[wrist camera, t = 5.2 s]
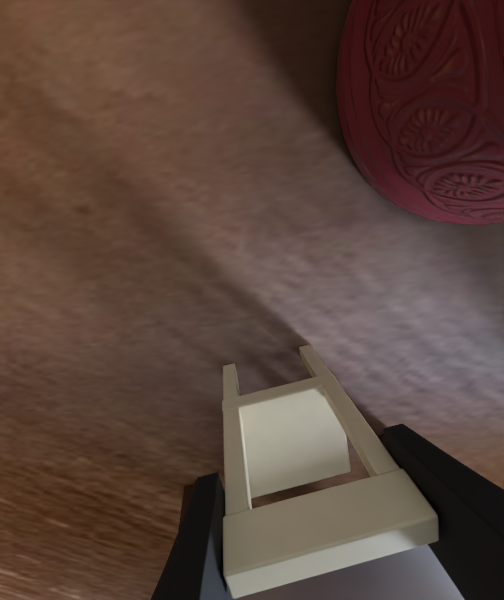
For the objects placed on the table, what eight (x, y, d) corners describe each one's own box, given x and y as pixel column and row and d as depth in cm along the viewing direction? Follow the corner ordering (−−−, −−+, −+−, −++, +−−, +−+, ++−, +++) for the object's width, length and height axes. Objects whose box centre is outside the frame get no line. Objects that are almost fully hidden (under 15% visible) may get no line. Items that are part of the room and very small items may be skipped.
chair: (220, 362, 16) (222, 576, 7) (310, 340, 16) (439, 515, 7) (241, 438, 18) (268, 701, 8) (323, 417, 18) (443, 648, 8)
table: (404, 555, 22) (468, 673, 17) (226, 605, 22) (229, 746, 16) (394, 430, 19) (471, 524, 13) (181, 486, 18) (164, 611, 12)
